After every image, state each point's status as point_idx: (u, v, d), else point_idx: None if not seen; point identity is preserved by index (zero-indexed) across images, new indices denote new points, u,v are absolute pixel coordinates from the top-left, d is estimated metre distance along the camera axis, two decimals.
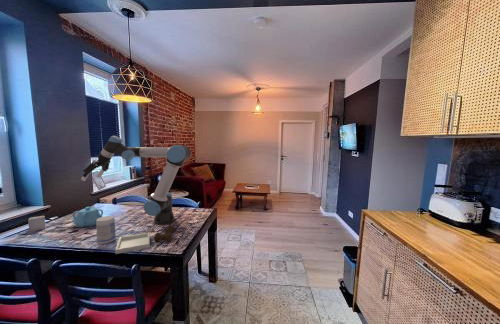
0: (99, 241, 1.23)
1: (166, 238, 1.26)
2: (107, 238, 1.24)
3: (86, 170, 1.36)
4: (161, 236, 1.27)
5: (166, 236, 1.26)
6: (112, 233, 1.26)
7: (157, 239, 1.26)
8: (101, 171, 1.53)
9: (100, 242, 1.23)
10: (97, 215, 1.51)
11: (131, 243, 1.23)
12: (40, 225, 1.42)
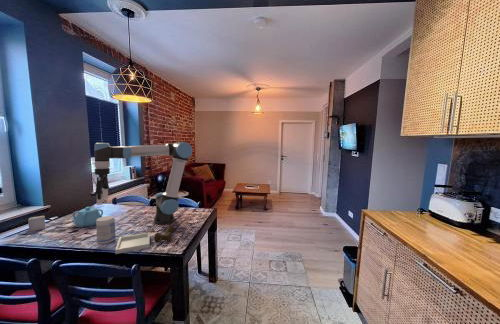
0: (99, 241, 1.23)
1: (166, 238, 1.26)
2: (107, 238, 1.24)
3: (98, 190, 1.17)
4: (161, 236, 1.27)
5: (166, 236, 1.26)
6: (112, 233, 1.26)
7: (157, 239, 1.26)
8: (105, 190, 1.32)
9: (100, 242, 1.23)
10: (97, 215, 1.51)
11: (131, 243, 1.23)
12: (40, 225, 1.42)
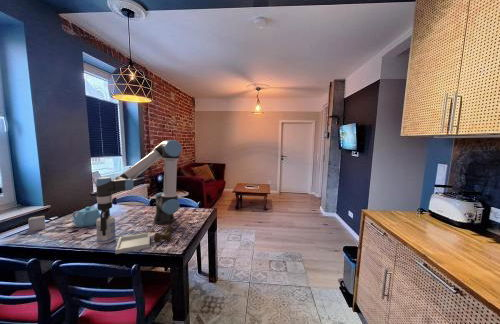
0: (99, 241, 1.23)
1: (166, 238, 1.26)
2: (107, 238, 1.24)
3: (103, 227, 1.19)
4: (161, 236, 1.27)
5: (166, 236, 1.27)
6: (112, 233, 1.26)
7: (157, 239, 1.26)
8: None
9: (100, 242, 1.23)
10: (97, 215, 1.51)
11: (131, 243, 1.23)
12: (40, 225, 1.42)
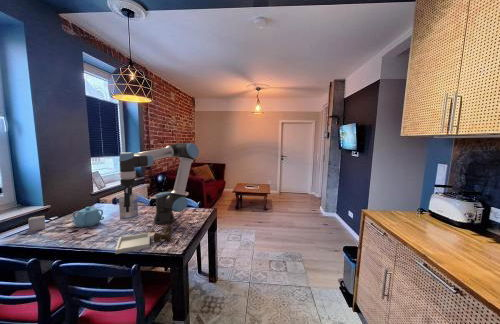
0: (122, 218, 1.18)
1: (166, 237, 1.27)
2: None
3: (127, 203, 1.14)
4: (160, 235, 1.27)
5: (166, 235, 1.27)
6: (135, 210, 1.21)
7: (156, 239, 1.26)
8: None
9: (123, 219, 1.18)
10: (97, 215, 1.51)
11: (131, 243, 1.23)
12: (40, 225, 1.42)
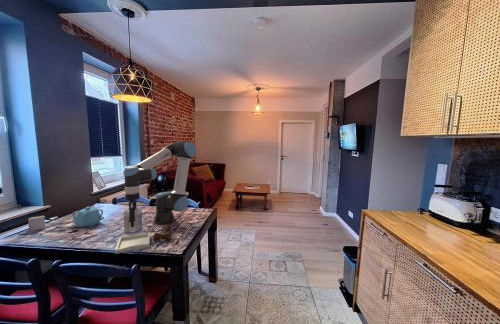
0: (127, 233, 1.18)
1: (166, 237, 1.27)
2: (135, 230, 1.19)
3: (132, 218, 1.15)
4: (160, 235, 1.27)
5: (166, 235, 1.27)
6: (139, 225, 1.21)
7: (156, 239, 1.26)
8: None
9: (128, 234, 1.18)
10: (97, 215, 1.51)
11: (131, 243, 1.23)
12: (40, 225, 1.42)
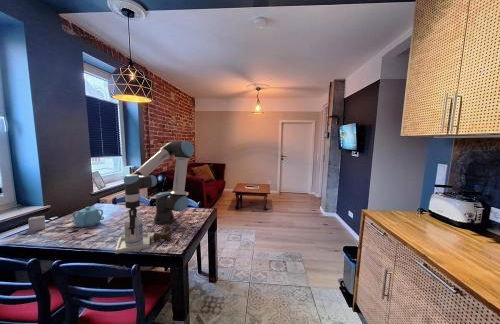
0: (128, 243, 1.19)
1: (166, 237, 1.27)
2: (136, 240, 1.20)
3: (132, 226, 1.14)
4: (160, 235, 1.28)
5: (165, 235, 1.28)
6: (140, 235, 1.22)
7: (156, 239, 1.26)
8: None
9: (129, 244, 1.19)
10: (97, 215, 1.51)
11: None
12: (40, 225, 1.42)
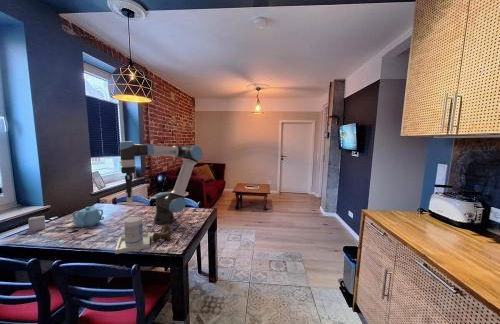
0: (128, 243, 1.19)
1: (165, 237, 1.28)
2: (136, 240, 1.20)
3: (129, 188, 1.18)
4: (160, 235, 1.28)
5: (165, 235, 1.28)
6: (140, 235, 1.22)
7: (156, 238, 1.27)
8: None
9: (129, 244, 1.19)
10: (97, 215, 1.51)
11: None
12: (40, 225, 1.42)
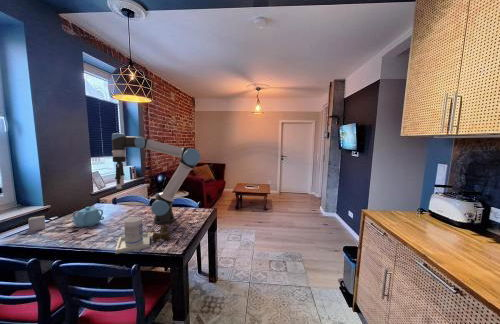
0: (128, 243, 1.19)
1: (165, 236, 1.28)
2: (136, 240, 1.20)
3: (118, 175, 1.30)
4: (159, 235, 1.28)
5: (165, 234, 1.28)
6: (140, 235, 1.22)
7: (155, 238, 1.27)
8: (121, 177, 1.45)
9: (129, 244, 1.19)
10: (97, 215, 1.51)
11: None
12: (40, 225, 1.42)
